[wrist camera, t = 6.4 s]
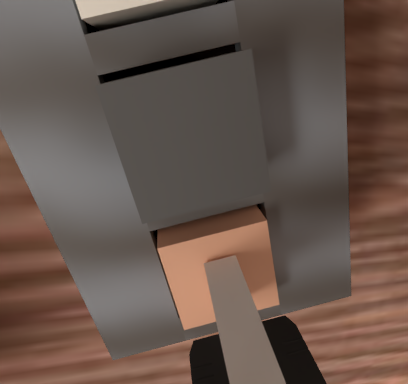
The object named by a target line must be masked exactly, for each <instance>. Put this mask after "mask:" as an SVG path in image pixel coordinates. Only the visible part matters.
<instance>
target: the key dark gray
mask: <svg viewBox="0 0 408 384" xmlns="http://www.w3.org/2000/svg"><path fill="white" fill-rule="evenodd" d="M95 87H96V90H97V93H98V96H99V99H100V102H101V105H102V108H103V111H104V113H105V116H106V119H107V122H108V125H109V128H110V131H111V134H112V137H113V140H114V143H115V146H116V149H117V152H118V154H119V157H120V160H121V163H122V166H123V169H124V172H125V175H126V178H127V181H128V184H129V187H130V190H131V193H132V196H133V198H134V201H135V204H136V207H137V210H138V213H139V216H140V219H141V222H142V224H145V223H149V222H153V221H157V220H161V219H165V218H169V217H173V216H176V215H180V214H184V213H188V212H192V211H196V210H200V209H204V208H208V207H212V206H216V205H220V204H224V203H228V202H231V201H235V200H239V199H243V198H247V197H251V196H255V195H259V194H263V193H267V192H271V186H270V178H269V171H268V164H267V156H266V149H265V142H264V135H263V127H262V120H261V113H260V106H259V98H258V91H257V84H256V76H255V69H254V62H253V55H252V49H248V50H243V51H237V52H232V53H227V54H223V55H219V56H214V57H210V58H206V59H202V60H197V61H193V62H189V63H185V64H180V65H176V66H172V67H168V68H163V69H159V70H155V71H151V72H146V73H142V74H138V75H134V76H130V77H125V78H121V79H117V80H113V81H109V82H106V83H102V84H99V85H96V86H95Z"/></svg>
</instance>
